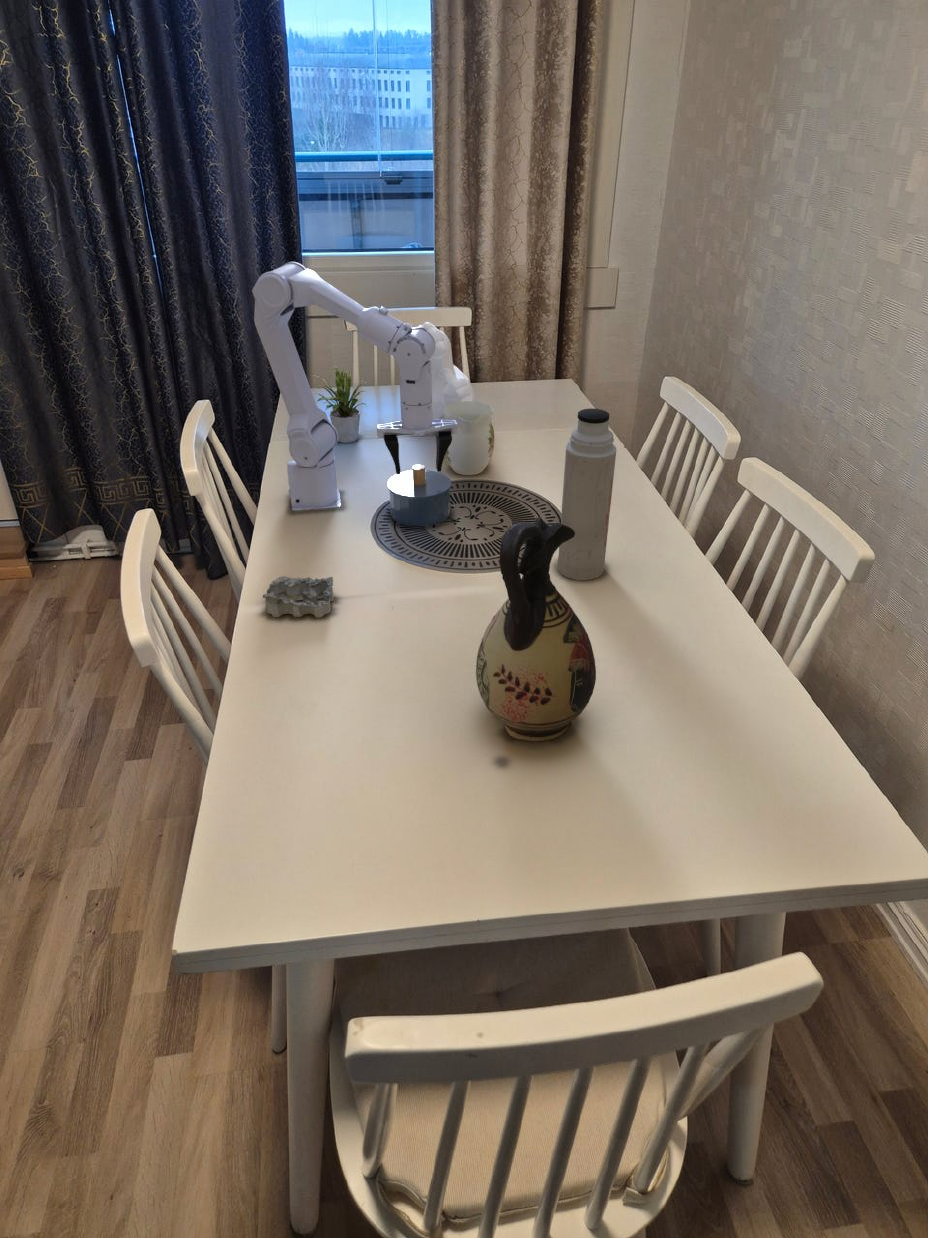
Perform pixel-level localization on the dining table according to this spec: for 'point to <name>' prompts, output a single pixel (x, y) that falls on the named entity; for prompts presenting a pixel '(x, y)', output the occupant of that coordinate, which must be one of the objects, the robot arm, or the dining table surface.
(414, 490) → the lid
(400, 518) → the canister
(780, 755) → the dining table surface
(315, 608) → the egg carton
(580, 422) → the thermos bottle
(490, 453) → the pitcher
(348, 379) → the house plant
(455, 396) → the decorative rooster
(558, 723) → the ceramic jug
